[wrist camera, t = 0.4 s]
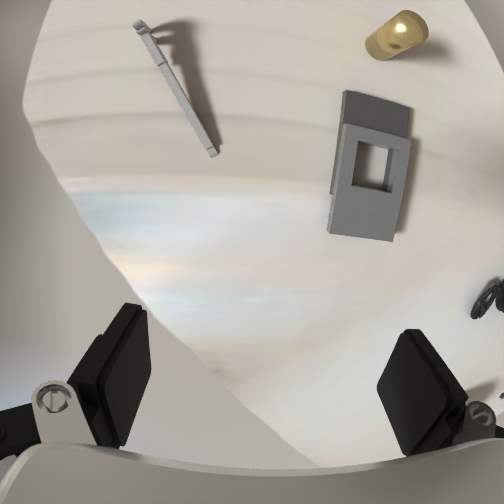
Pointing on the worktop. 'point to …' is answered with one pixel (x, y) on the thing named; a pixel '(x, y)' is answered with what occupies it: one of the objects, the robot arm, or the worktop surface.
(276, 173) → the worktop surface
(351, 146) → the grey socket block
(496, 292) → the milk frother
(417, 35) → the pin
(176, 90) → the caliper
